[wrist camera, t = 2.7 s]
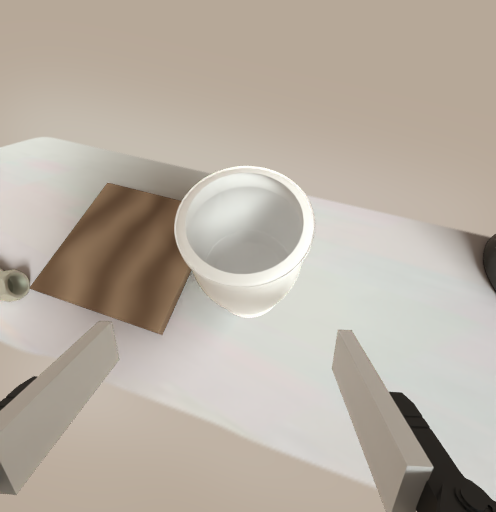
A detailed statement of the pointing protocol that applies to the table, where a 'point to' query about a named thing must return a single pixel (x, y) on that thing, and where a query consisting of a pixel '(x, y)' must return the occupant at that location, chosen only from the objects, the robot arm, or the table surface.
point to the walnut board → (121, 259)
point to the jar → (245, 237)
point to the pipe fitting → (13, 285)
